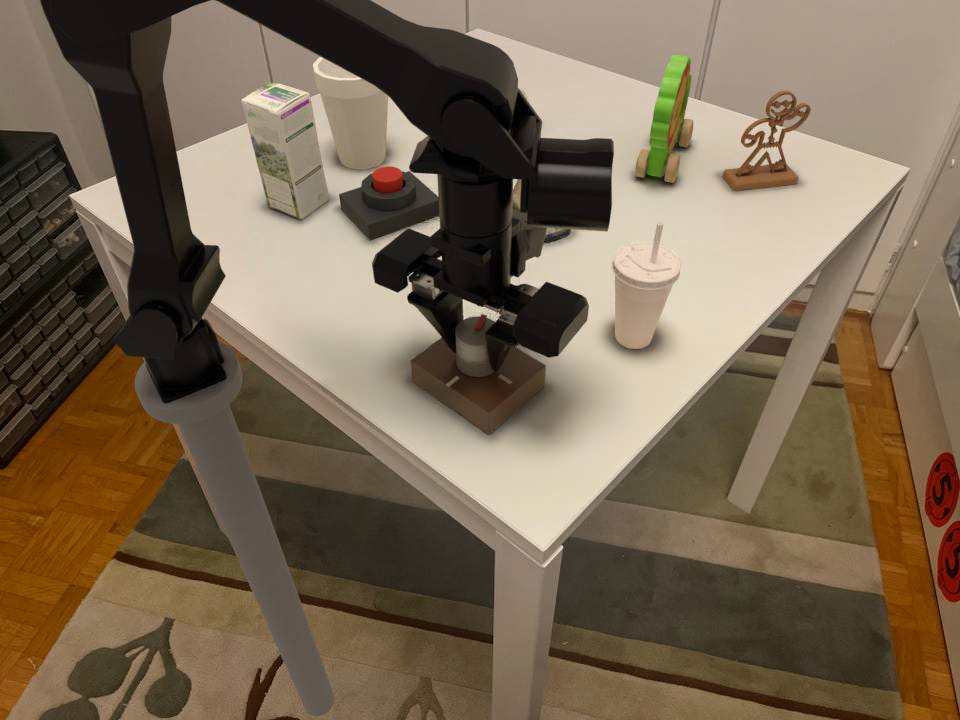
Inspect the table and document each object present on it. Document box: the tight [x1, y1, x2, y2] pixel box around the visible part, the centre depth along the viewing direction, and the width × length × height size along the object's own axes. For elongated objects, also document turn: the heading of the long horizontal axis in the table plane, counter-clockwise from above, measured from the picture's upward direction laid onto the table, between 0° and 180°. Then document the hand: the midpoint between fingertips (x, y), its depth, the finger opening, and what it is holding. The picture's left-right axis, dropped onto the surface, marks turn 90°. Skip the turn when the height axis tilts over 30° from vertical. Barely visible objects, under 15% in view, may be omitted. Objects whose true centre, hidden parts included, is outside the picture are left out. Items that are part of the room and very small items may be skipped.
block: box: [338, 170, 440, 241], centre depth 92 cm, size 10×8×4 cm
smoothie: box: [611, 221, 682, 350], centre depth 72 cm, size 6×6×14 cm
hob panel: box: [409, 337, 547, 435], centre depth 71 cm, size 10×8×3 cm
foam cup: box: [312, 56, 389, 170], centre depth 98 cm, size 10×9×13 cm
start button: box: [371, 165, 403, 193], centre depth 90 cm, size 4×4×2 cm
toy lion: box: [634, 54, 694, 184], centre depth 96 cm, size 16×5×15 cm, turn 158°
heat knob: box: [455, 313, 496, 377], centre depth 68 cm, size 4×4×4 cm
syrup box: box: [240, 81, 330, 220], centre depth 90 cm, size 6×6×14 cm
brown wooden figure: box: [722, 90, 811, 192], centre depth 94 cm, size 9×4×12 cm, turn 101°
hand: (477, 359), depth 70 cm, fingers closed on heat knob, 4 cm apart
